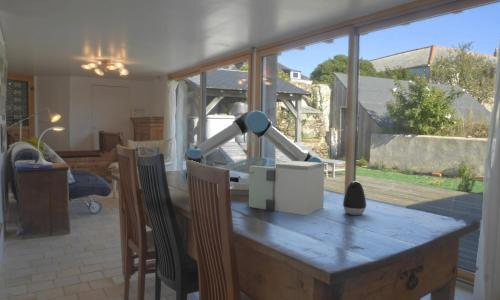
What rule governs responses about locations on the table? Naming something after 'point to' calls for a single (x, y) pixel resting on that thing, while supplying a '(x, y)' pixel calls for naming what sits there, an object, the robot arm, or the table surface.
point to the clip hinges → (269, 203)
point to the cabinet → (299, 187)
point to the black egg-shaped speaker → (354, 199)
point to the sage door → (260, 187)
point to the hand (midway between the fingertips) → (242, 183)
